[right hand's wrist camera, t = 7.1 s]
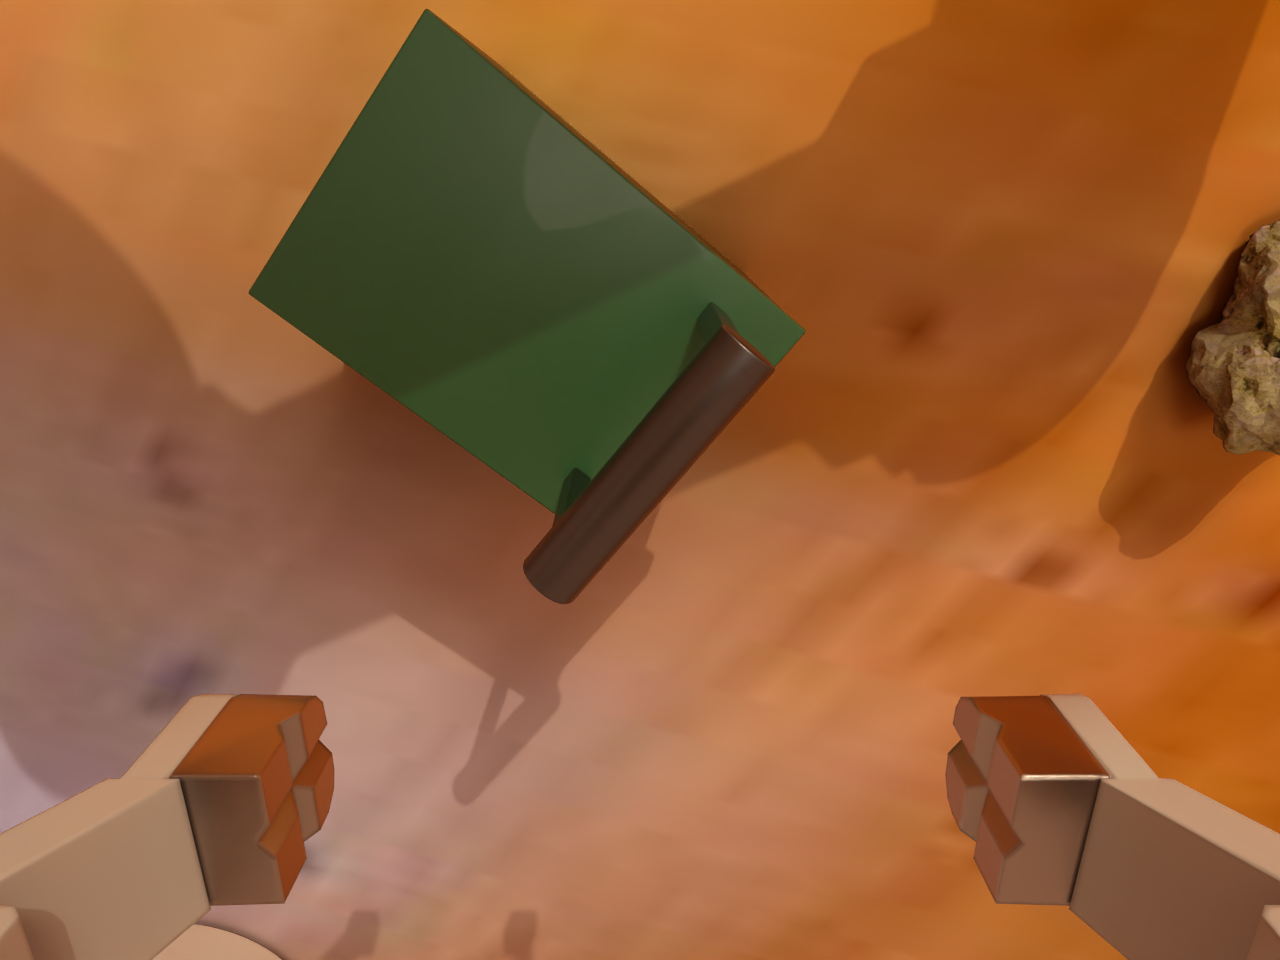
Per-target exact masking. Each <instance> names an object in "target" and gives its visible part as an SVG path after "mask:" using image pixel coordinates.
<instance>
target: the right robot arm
mask: <svg viewBox="0 0 1280 960" xmlns="http://www.w3.org/2000/svg"><path fill="white" fill-rule="evenodd" d="M326 725H327V720H326V715H325V710H324V705H323V702H322V701H321V700H320V699H319V698H318V697H317V696H304V695H257V694H240V695H236V694H200V695H197V696H194V697H191V698H190V699H189V700H188V701H187V703H186V704H185V705H184V706H183V707H182V708H181V710H180V711H179V712H178V713H177V714H176V715H175V716H174V718H173V719H172V720H171V721H170V722H169V723H168V725H167V726H166V727H165V728H164V729H163V730H162V731H161V733H160V734H159V735H158V736H157V737H156V738H155V739H154V741H153V742H152V743H151V744H150V745H149V746H148V748H147V749H146V750H145V751H144V752H143V753H142V754H141V756H140V757H139V758H138V759H137V760H136V761H135V762H134V764H133V765H132V766H131V767H130V768H129V769H128V771H127V772H126V773H125V774H124V775H123V776H122V777H121V779H106V780H104V781H102V782H100V783H98V784H96V785H94V786H92V787H90V788H89V789H87V790H85V791H83V792H81V793H79V794H77V795H75V796H73V797H71V798H69V799H67V800H65V801H63V802H61V803H59V804H57V805H55V806H54V807H52V808H50V809H48V810H46V811H44V812H42V813H40V814H38V815H36V816H34V817H32V818H30V819H28V820H26V821H24V822H22V823H21V824H19V825H17V826H15V827H13V828H11V829H9V830H7V831H5V832H3V833H1V834H0V960H282V959H281V958H279V957H278V956H277V955H275V954H274V953H273V952H271V951H269V950H268V949H266V948H265V947H263V946H261V945H259V944H257V943H255V942H253V941H251V940H249V939H247V938H245V937H242V936H240V935H237V934H234V933H231V932H228V931H225V930H221V929H218V928H213V927H209V926H203V925H197V924H194V923H196V922H197V921H198V920H199V919H200V918H201V917H203V916H204V915H205V914H206V913H207V912H208V911H210V909H211V908H210V906H213V905H247V904H281V903H285V901H286V899H287V897H288V895H289V893H290V891H291V889H292V887H293V885H294V883H295V881H296V879H297V877H298V875H299V873H300V870H301V868H302V866H303V864H304V862H305V860H306V852H305V847H304V841H306V840H307V839H308V838H310V837H311V836H313V835H314V834H315V833H317V832H318V831H319V830H321V827H322V825H323V823H324V821H325V819H326V817H327V814H328V812H329V809H330V804H331V799H332V795H333V790H334V764H333V757H332V753H331V752H330V751H329V750H328V749H327V747H326V746H325V745H324V744H323V743H322V742H321V741H320V740H319V738H320V736H321V734H322V732H323V731H324V729H325V727H326ZM953 725H954V727H955V729H956V731H957V732H958V734H959V736H960V738H961V740H960V741H959V742H958V743H957V744H956V745H955V746H954V747H953V749H952V750H951V751H950V752H949V753H948V758H947V766H946V774H945V776H946V787H947V798H948V801H949V805H950V808H951V812H952V815H953V817H954V819H955V821H956V823H957V825H958V828H959V830H961V831H962V832H963V833H965V834H966V835H967V836H969V837H970V838H972V839H973V840H974V841H976V847H975V852H974V860H975V862H976V864H977V866H978V868H979V870H980V872H981V874H982V876H983V878H984V880H985V882H986V885H987V887H988V889H989V891H990V893H991V895H992V897H993V899H994V901H995V903H997V904H1032V905H1067V906H1070V907H1069V909H1070V910H1071V911H1072V912H1073V913H1074V914H1076V915H1077V916H1078V917H1079V918H1080V919H1081V920H1083V921H1084V922H1085V923H1086V924H1087V925H1088V926H1090V927H1091V928H1092V929H1093V930H1094V931H1095V932H1097V933H1098V934H1099V935H1100V936H1101V937H1102V938H1104V939H1105V940H1106V941H1107V942H1108V943H1109V944H1111V945H1112V946H1113V947H1114V948H1115V949H1116V950H1118V951H1119V952H1120V953H1121V954H1122V955H1123V956H1125V957H1126V958H1127V959H1128V960H1280V834H1279V833H1277V832H1275V831H1273V830H1271V829H1269V828H1267V827H1265V826H1263V825H1261V824H1259V823H1257V822H1255V821H1253V820H1252V819H1250V818H1248V817H1246V816H1244V815H1242V814H1240V813H1238V812H1236V811H1234V810H1232V809H1230V808H1228V807H1226V806H1224V805H1222V804H1220V803H1219V802H1217V801H1215V800H1213V799H1211V798H1209V797H1207V796H1205V795H1203V794H1201V793H1199V792H1197V791H1195V790H1193V789H1191V788H1189V787H1188V786H1186V785H1184V784H1182V783H1180V782H1178V781H1176V780H1174V779H1159V777H1158V776H1157V775H1156V774H1155V773H1154V772H1153V771H1152V769H1151V768H1150V767H1149V766H1148V765H1147V764H1146V763H1145V761H1144V760H1143V759H1142V758H1141V757H1140V756H1139V754H1138V753H1137V752H1136V751H1135V750H1134V749H1133V748H1132V746H1131V745H1130V744H1129V743H1128V742H1127V741H1126V740H1125V738H1124V737H1123V736H1122V735H1121V734H1120V733H1119V731H1118V730H1117V729H1116V728H1115V727H1114V726H1113V725H1112V723H1111V722H1110V721H1109V720H1108V719H1107V718H1106V717H1105V715H1104V714H1103V713H1102V712H1101V711H1100V710H1099V708H1098V707H1097V706H1096V705H1095V704H1094V703H1093V702H1092V700H1091V699H1090V698H1088V697H1086V696H1084V695H1082V694H1080V693H1079V694H1047V695H1040V696H978V697H961V698H960V700H959V702H958V704H957V706H956V708H955V714H954V720H953Z"/></svg>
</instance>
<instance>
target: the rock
mask: <svg viewBox="0 0 1280 960" xmlns="http://www.w3.org/2000/svg"><path fill="white" fill-rule="evenodd" d="M1186 368H1187V370H1188V371H1187V375H1188V377H1189V380H1190V383H1191V384H1192V385H1194V387H1195V388H1196V389H1197V392H1198V393H1199V394H1200V396H1201V397H1203V398H1204V399H1205V401H1206V403H1207V404H1208V405H1209V407H1210V408H1211V409H1212V411H1213V412H1214V414H1215V416H1214V427H1213V433H1214V434H1215V435H1216V436H1217V437H1219V438H1220V439H1222V440H1223V447H1224V449H1225V450H1226V451H1227V452H1230V453H1234V454H1243V453H1247V452H1252V451H1254V450H1258V451H1267V452H1274V453H1276V454H1278V455H1280V221H1277V222H1275V223H1273V224H1270V225H1266V226H1262V227H1261V228H1260V229H1258V230H1257V231H1256V232H1255V233H1254V234H1252V235H1251V236H1250V239H1249V241H1248V242H1246V247H1245V249H1244V251H1243V253H1242V254H1241V257H1240V261H1239V265H1238V277H1237V278H1236V280H1235V286H1234V292H1233V294H1232V295H1231V297H1230V298H1229V300H1228V302H1227V303H1226V304H1225V306H1224V309H1223V312H1222V318H1221V321H1220V322H1219V323H1216V324H1213V325H1211V326H1209V327H1207V328H1205V329H1203V330H1200V331H1199V332H1197V334H1196V335H1195V336H1194V338H1193V340H1192V342H1191V353H1190V356H1189V359H1188V360H1187V362H1186Z"/></svg>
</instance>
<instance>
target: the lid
mask: <svg viewBox="0 0 1280 960" xmlns="http://www.w3.org/2000/svg"><path fill="white" fill-rule="evenodd" d="M249 294H250V295H251V296H252V297H254V298H255V299H257V300H258V301H259V302H261V303H262V304H263V305H265V306H266V307H268V308H269V309H270V310H272V311H273V312H275V313H276V314H277V315H279V316H280V317H282V318H283V319H284V320H286V321H287V322H289V323H290V324H291V325H293V326H294V327H295V328H297V329H298V330H300V331H301V332H302V333H304V334H305V335H307V336H308V337H309V338H311V339H312V340H314V341H315V342H316V343H318V344H319V345H320V346H322V347H323V348H325V349H326V350H327V351H329V352H330V353H332V354H333V355H334V356H336V357H337V358H339V359H340V360H341V361H343V362H344V363H346V364H347V365H348V366H350V367H351V368H352V369H354V370H355V371H357V372H358V373H359V374H361V375H362V376H364V377H365V378H366V379H368V380H369V381H371V382H372V383H373V384H375V385H376V386H378V387H379V388H380V389H382V390H383V391H384V392H386V393H387V394H389V395H390V396H391V397H393V398H394V399H396V400H397V401H398V402H400V403H401V404H403V405H404V406H405V407H407V408H408V409H409V410H411V411H412V412H414V413H415V414H416V415H418V416H419V417H421V418H422V419H423V420H425V421H426V422H428V423H429V424H430V425H432V426H433V427H435V428H436V429H437V430H439V431H440V432H441V433H443V434H444V435H446V436H447V437H448V438H450V439H451V440H453V441H454V442H455V443H457V444H458V445H460V446H461V447H462V448H464V449H465V450H467V451H468V452H469V453H471V454H472V455H473V456H475V457H476V458H478V459H479V460H480V461H482V462H483V463H485V464H486V465H487V466H489V467H490V468H492V469H493V470H494V471H496V472H497V473H499V474H500V475H501V476H503V477H504V478H505V479H507V480H508V481H510V482H511V483H512V484H514V485H515V486H517V487H518V488H519V489H521V490H522V491H524V492H525V493H526V494H528V495H529V496H530V497H532V498H533V499H535V500H536V501H537V502H539V503H540V504H542V505H543V506H544V507H546V508H547V509H549V510H550V511H551V512H553V513H554V514H555V518H554V522H553V526H552V528H551V529H550V531H549V532H548V533H547V534H546V535H545V537H544V538H543V539H542V540H541V541H540V543H539V544H538V545H537V546H536V547H535V549H534V550H533V551H532V552H531V553H530V555H529V556H528V557H527V558H526V559H525V561H524V564H523V570H524V573H525V575H526V577H527V579H528V580H529V582H530V583H531V584H532V585H533V586H534V587H535V588H536V589H537V590H538V591H539V592H540V593H541V594H542V595H544V596H545V597H547V598H548V599H550V600H552V601H554V602H557V603H560V604H569V603H571V602H573V601H574V600H575V598H576V597H577V596H578V595H579V594H580V593H581V592H582V590H583V589H584V588H585V587H586V586H587V585H588V584H589V582H590V581H591V580H592V579H593V578H594V577H595V576H596V574H597V573H598V572H599V571H600V570H601V569H602V568H603V566H604V565H605V564H606V563H607V562H608V561H609V560H610V558H611V557H612V556H613V555H614V554H615V553H616V552H617V550H618V549H619V548H620V547H621V546H622V545H623V544H624V542H625V541H626V540H627V539H628V538H629V537H630V536H631V535H632V533H633V532H634V531H635V530H636V529H637V528H638V527H639V525H640V524H641V523H642V522H643V521H644V520H645V519H646V517H647V516H648V515H649V514H650V513H651V512H652V511H653V509H654V508H655V507H656V506H657V505H658V504H659V503H660V501H661V500H662V499H663V498H664V497H665V496H666V495H667V493H668V492H669V491H670V490H671V489H672V488H673V487H674V485H675V484H676V483H677V482H678V481H679V480H680V479H681V477H682V476H683V475H684V474H685V473H686V472H687V471H688V469H689V468H690V467H691V466H692V465H693V464H694V463H695V461H696V460H697V459H698V458H699V457H700V456H701V455H702V453H703V452H704V451H705V450H706V449H707V448H708V447H709V445H710V444H711V443H712V442H713V441H714V440H715V439H716V437H717V436H718V435H719V434H720V433H721V432H722V431H723V429H724V428H725V427H726V426H727V425H728V424H729V423H730V421H731V420H732V419H733V418H734V417H735V416H736V415H737V413H738V412H739V411H740V410H741V409H742V408H743V407H744V405H745V404H746V403H747V402H748V401H749V400H750V399H751V397H752V396H753V395H754V394H755V393H756V392H757V391H758V390H759V388H760V387H761V386H762V385H763V384H764V383H765V382H766V380H767V379H768V378H769V377H770V376H771V375H772V374H773V372H774V370H775V367H776V366H777V364H778V363H779V362H780V361H781V360H782V359H783V357H784V356H785V355H786V354H787V353H788V352H789V351H790V349H791V348H792V347H793V346H794V345H795V344H796V343H797V341H798V340H799V339H800V338H801V337H802V336H803V335H804V333H805V330H804V329H803V328H802V327H801V326H800V325H799V324H798V323H796V322H795V321H794V320H793V319H792V318H791V317H789V316H788V315H787V314H786V313H785V312H784V311H782V310H781V309H780V308H779V307H778V306H777V305H775V304H774V303H773V302H772V301H771V300H769V299H768V298H767V297H766V296H765V295H764V294H762V293H761V292H760V291H759V290H758V289H757V288H755V287H754V286H753V285H752V284H751V283H750V282H748V281H747V280H746V279H745V278H744V277H742V276H741V275H740V274H739V273H738V272H737V271H735V270H734V269H733V268H732V267H731V266H730V265H728V264H727V263H726V262H725V261H724V260H723V259H721V258H720V257H719V256H718V255H717V254H716V253H714V252H713V251H712V250H711V249H710V248H708V247H707V246H706V245H705V244H704V243H703V242H701V241H700V240H699V239H698V238H697V237H696V236H694V235H693V234H692V233H691V232H690V231H689V230H687V229H686V228H685V227H684V226H683V225H681V224H680V223H679V222H678V221H677V220H676V219H674V218H673V217H672V216H671V215H670V214H669V213H667V212H666V211H665V210H664V209H663V208H662V207H660V206H659V205H658V204H657V203H656V202H655V201H653V200H652V199H651V198H650V197H649V196H647V195H646V194H645V193H644V192H643V191H642V190H640V189H639V188H638V187H637V186H636V185H635V184H633V183H632V182H631V181H630V180H629V179H628V178H626V177H625V176H624V175H623V174H622V173H620V172H619V171H618V170H617V169H616V168H615V167H613V166H612V165H611V164H610V163H609V162H608V161H606V160H605V159H604V158H603V157H602V156H601V155H599V154H598V153H597V152H596V151H595V150H594V149H592V148H591V147H590V146H589V145H588V144H586V143H585V142H584V141H583V140H582V139H581V138H579V137H578V136H577V135H576V134H575V133H574V132H572V131H571V130H570V129H569V128H568V127H567V126H565V125H564V124H563V123H562V122H561V121H559V120H558V119H557V118H556V117H555V116H554V115H552V114H551V113H550V112H549V111H548V110H547V109H545V108H544V107H543V106H542V105H541V104H540V103H538V102H537V101H536V100H535V99H534V98H532V97H531V96H530V95H529V94H528V93H527V92H525V91H524V90H523V89H522V88H521V87H520V86H518V85H517V84H516V83H515V82H514V81H513V80H511V79H510V78H509V77H508V76H507V75H506V74H504V73H503V72H502V71H501V70H500V69H498V68H497V67H496V66H495V65H494V64H493V63H491V62H490V61H489V60H488V59H487V58H486V57H484V56H483V55H482V54H481V53H480V52H479V51H477V50H476V49H475V48H474V47H473V46H471V45H470V44H469V43H468V42H467V41H466V40H464V39H463V38H462V37H461V36H460V35H459V34H457V33H456V32H455V31H454V30H453V29H452V28H450V27H449V26H448V25H447V24H446V23H445V22H443V21H442V20H441V19H440V18H439V17H437V16H436V15H435V14H434V13H433V12H431V11H430V10H429V9H425V10H424V12H423V13H422V15H421V17H420V18H419V20H418V21H417V23H416V25H415V26H414V28H413V29H412V31H411V33H410V34H409V36H408V37H407V39H406V41H405V42H404V44H403V45H402V47H401V49H400V50H399V52H398V54H397V55H396V57H395V58H394V60H393V62H392V63H391V65H390V66H389V68H388V70H387V71H386V73H385V74H384V76H383V78H382V79H381V81H380V82H379V84H378V86H377V87H376V89H375V90H374V92H373V94H372V95H371V97H370V98H369V100H368V102H367V103H366V105H365V106H364V108H363V110H362V111H361V113H360V114H359V116H358V118H357V119H356V121H355V122H354V124H353V126H352V127H351V129H350V130H349V132H348V134H347V135H346V137H345V138H344V140H343V142H342V143H341V145H340V146H339V148H338V150H337V151H336V153H335V154H334V156H333V158H332V159H331V161H330V162H329V164H328V166H327V167H326V169H325V170H324V172H323V174H322V175H321V177H320V178H319V180H318V182H317V183H316V185H315V186H314V188H313V190H312V191H311V193H310V195H309V196H308V198H307V199H306V201H305V203H304V204H303V206H302V207H301V209H300V211H299V212H298V214H297V215H296V217H295V219H294V220H293V222H292V223H291V225H290V227H289V228H288V230H287V231H286V233H285V235H284V236H283V238H282V239H281V241H280V243H279V244H278V246H277V247H276V249H275V251H274V252H273V254H272V255H271V257H270V259H269V260H268V262H267V263H266V265H265V267H264V268H263V270H262V271H261V273H260V275H259V276H258V278H257V279H256V281H255V283H254V284H253V286H252V287H251V289H250V291H249Z"/></svg>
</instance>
